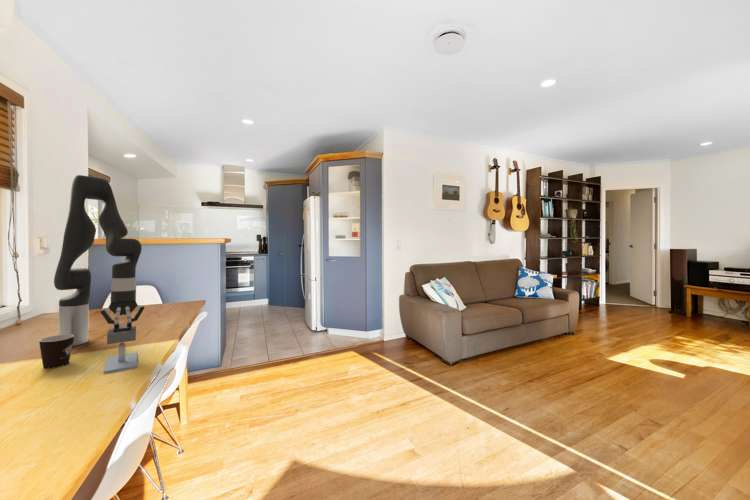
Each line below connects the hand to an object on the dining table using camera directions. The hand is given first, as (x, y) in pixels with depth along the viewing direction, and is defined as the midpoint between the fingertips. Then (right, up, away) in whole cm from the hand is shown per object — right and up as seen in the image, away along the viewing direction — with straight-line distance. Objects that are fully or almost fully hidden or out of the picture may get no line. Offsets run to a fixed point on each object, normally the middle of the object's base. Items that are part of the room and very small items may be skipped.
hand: (122, 332), depth 115 cm
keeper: (+3, -10, -4) cm, 12 cm away
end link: (+2, -1, -2) cm, 3 cm away
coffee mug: (-17, -10, -7) cm, 21 cm away
